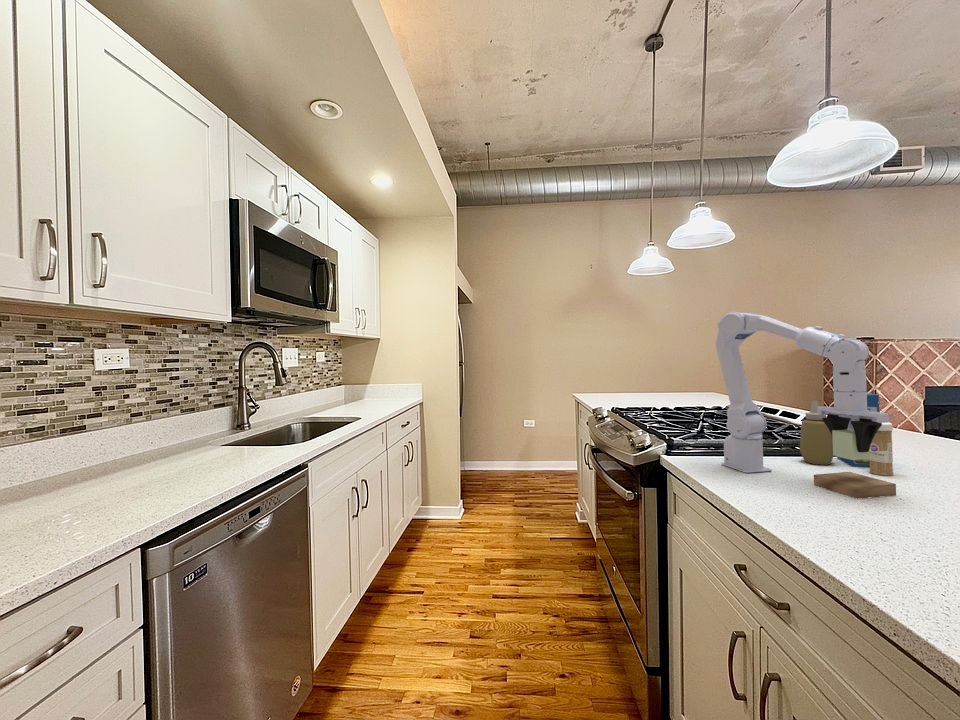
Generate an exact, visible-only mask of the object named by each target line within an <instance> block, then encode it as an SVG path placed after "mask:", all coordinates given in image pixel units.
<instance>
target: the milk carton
mask: <svg viewBox="0 0 960 720" xmlns="http://www.w3.org/2000/svg"><path fill="white" fill-rule="evenodd" d="M867 410H869V411H874V412H880V395H879V394H875V393H870V392H867ZM841 415H844V414H841ZM848 416H856V415H848ZM856 417H857V416H856ZM851 421H859V419H852V418H851V419H850V422H849V425H848V429H850V430H854V429H853V426H852V424H851ZM836 459H837V460H839V459H840V461H841V462H842V463H845V464H847V465H848V466H850V467H853V468H854V467H855V468H868V469H870V459H862V460H850V459H845V458H841V457H837V456H836Z"/></svg>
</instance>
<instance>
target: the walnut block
mask: <svg viewBox="0 0 960 720" xmlns="http://www.w3.org/2000/svg"><path fill="white" fill-rule="evenodd" d="M813 486H815V487H818V486H819V487H818V488H821V487H822V489H824V488H825V490H828V491H832V492H835V493H837V492H838V494H840V495H843V494H844V496H846V495H847V497H850V498H853V497H854V498H853V499H856V498H857V499H856V500H859V499H858V498H862V499H869V498H868V497H873V498H881V497H880V496H884V497H892V496H893V495H895V496H897V484H896V483H894V482H891V481H886V480H882V479H878V478H875V477H870V476H867V475H863V474H860V473H856V472H852V471H843V472H830V473H829V472H827V473H815V474H813Z"/></svg>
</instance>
